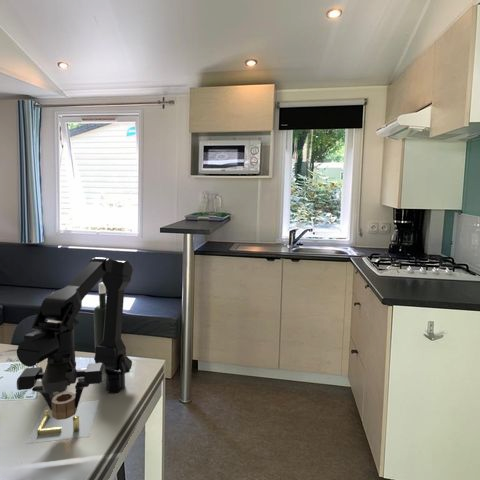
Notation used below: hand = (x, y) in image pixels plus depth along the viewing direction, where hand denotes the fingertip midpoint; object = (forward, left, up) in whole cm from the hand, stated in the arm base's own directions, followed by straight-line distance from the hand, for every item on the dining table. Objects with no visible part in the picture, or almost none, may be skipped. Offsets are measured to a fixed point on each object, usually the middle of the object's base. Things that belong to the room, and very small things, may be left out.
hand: (64, 408), depth 91 cm
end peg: (0, +2, -7) cm, 7 cm away
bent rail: (-4, -4, -6) cm, 8 cm away
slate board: (-5, -1, -7) cm, 9 cm away
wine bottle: (-34, +4, -7) cm, 35 cm away
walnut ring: (0, 0, -1) cm, 1 cm away
